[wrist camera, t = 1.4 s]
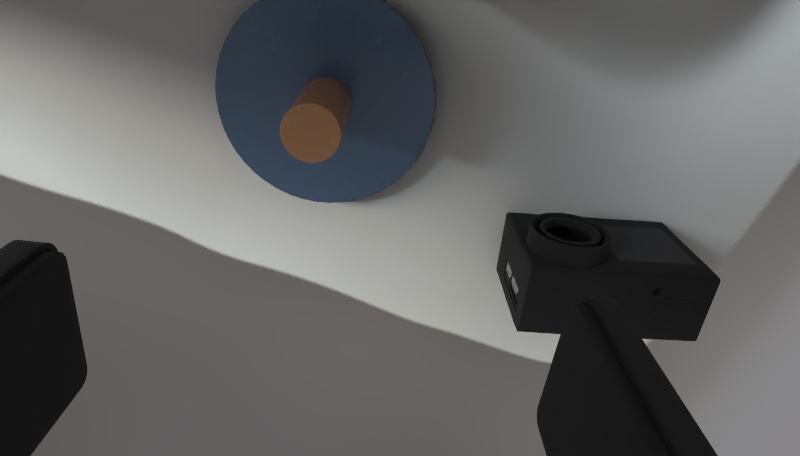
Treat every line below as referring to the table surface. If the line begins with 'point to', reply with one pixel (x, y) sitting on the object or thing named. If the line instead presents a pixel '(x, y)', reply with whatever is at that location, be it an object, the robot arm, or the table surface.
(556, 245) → the digital camera
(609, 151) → the table surface
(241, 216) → the table surface
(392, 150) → the lid
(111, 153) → the table surface
